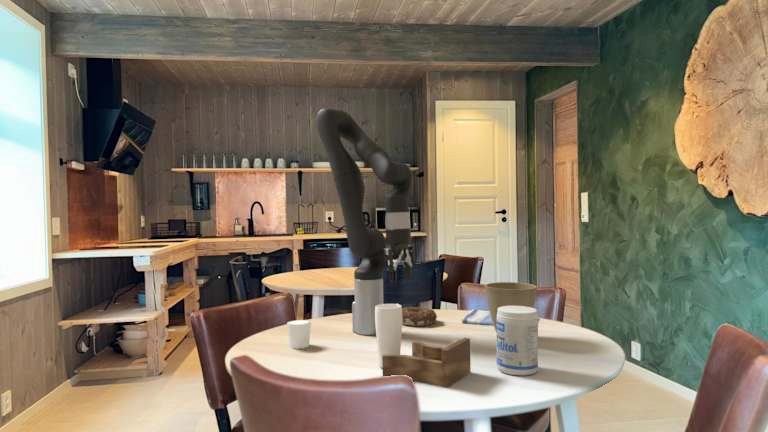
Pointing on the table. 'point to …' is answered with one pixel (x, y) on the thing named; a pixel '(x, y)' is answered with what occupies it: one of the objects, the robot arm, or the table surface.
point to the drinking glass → (388, 329)
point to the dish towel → (478, 317)
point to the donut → (418, 316)
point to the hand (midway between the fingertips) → (400, 281)
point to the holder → (432, 363)
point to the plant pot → (509, 296)
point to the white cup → (299, 333)
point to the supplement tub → (517, 340)
